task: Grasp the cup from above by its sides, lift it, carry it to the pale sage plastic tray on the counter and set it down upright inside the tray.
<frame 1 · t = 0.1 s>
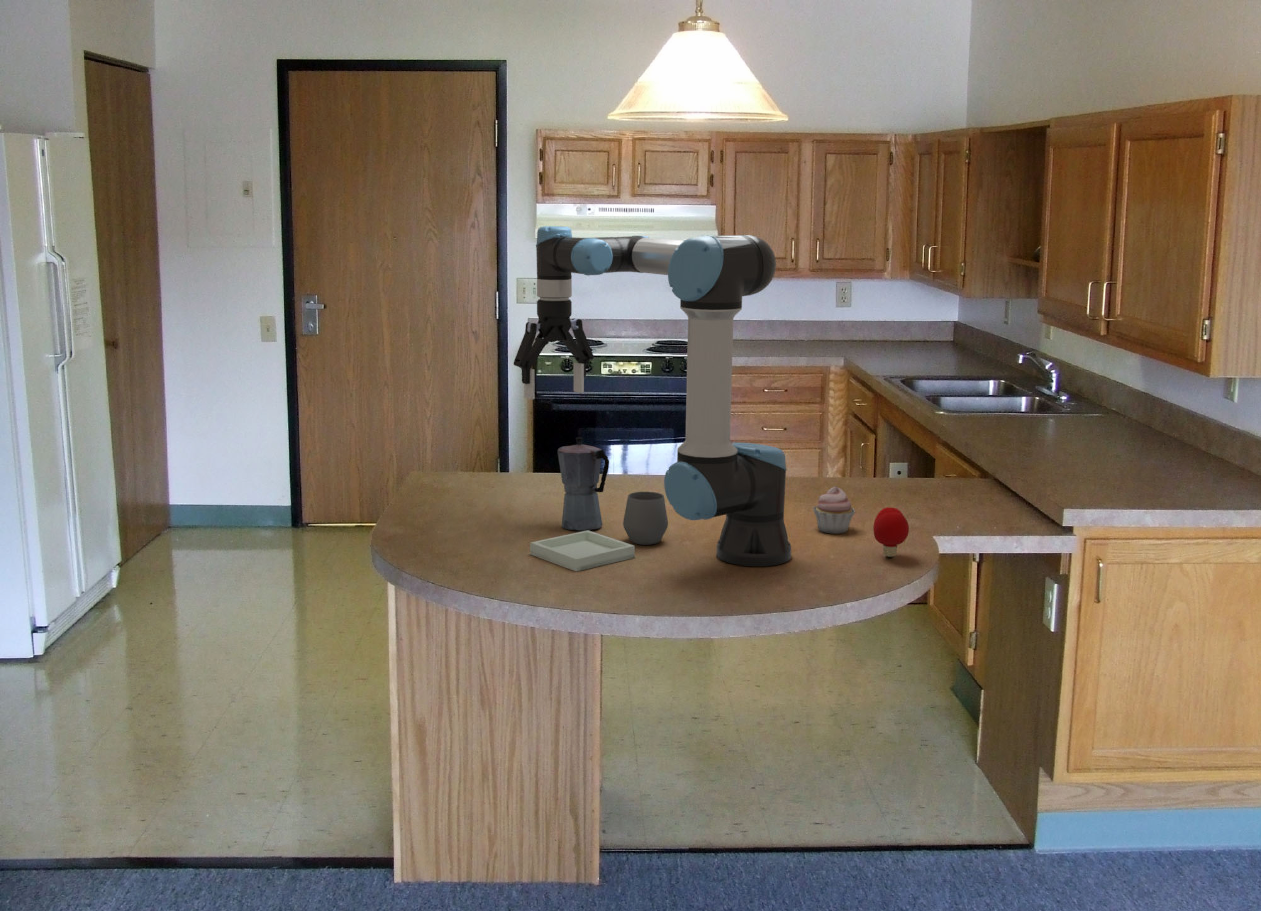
hand: (554, 395, 290), 28 cm above the breakfast bar, fingers open, 13 cm apart
light bulb: (889, 558, 268), on the breakfast bar
cupcake: (833, 531, 288), on the breakfast bar
tray: (582, 556, 267), on the breakfast bar
cup: (645, 542, 278), on the breakfast bar
moka pot: (583, 528, 288), on the breakfast bar
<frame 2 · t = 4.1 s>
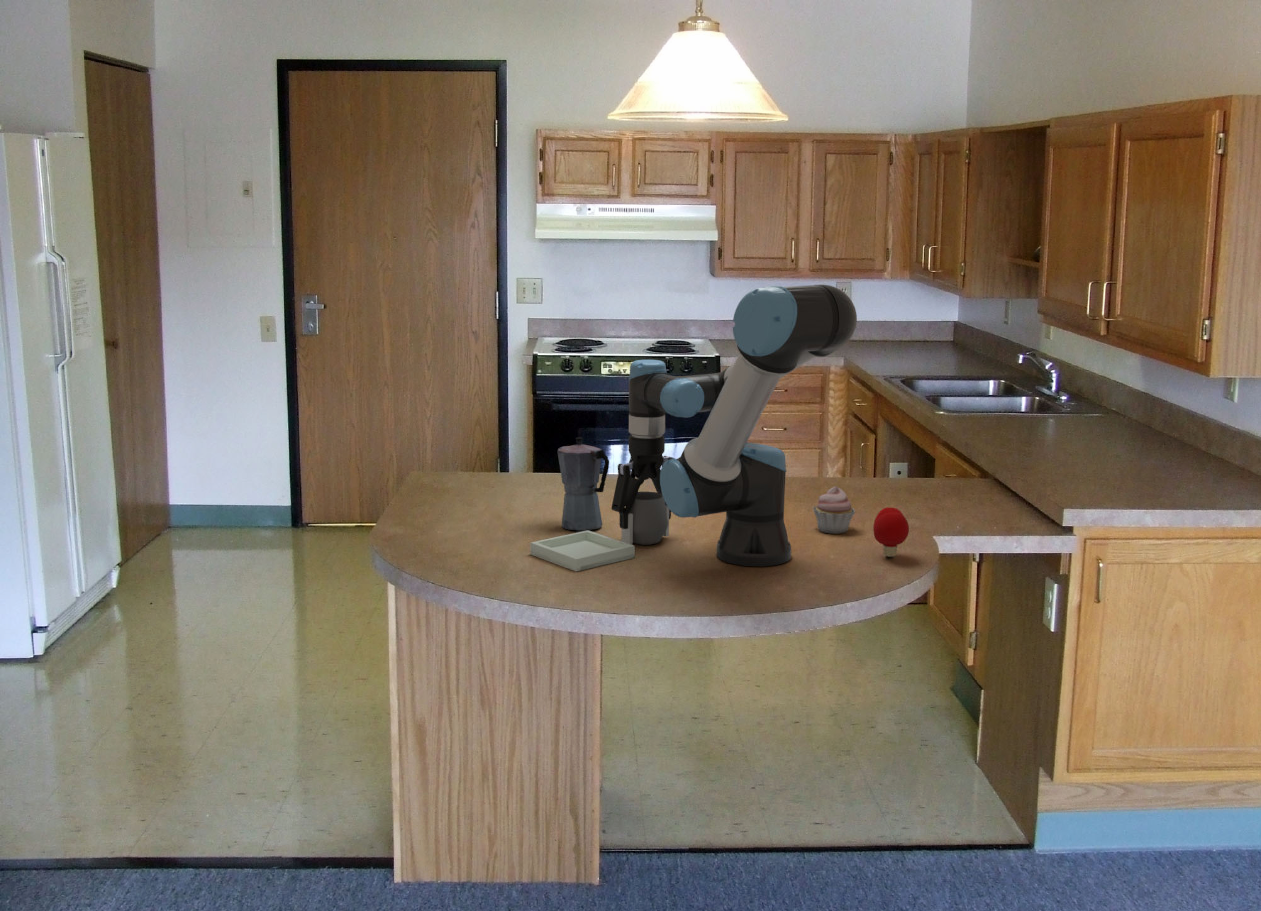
hand: (645, 538, 278), 1 cm above the breakfast bar, fingers closed on cup, 9 cm apart
cup: (645, 542, 278), on the breakfast bar, touching gripper
everything else where it was.
when the fingers open (3 cm above the breakfast bar, at t = 9.7 s): cup drops 2 cm, resting on tray.
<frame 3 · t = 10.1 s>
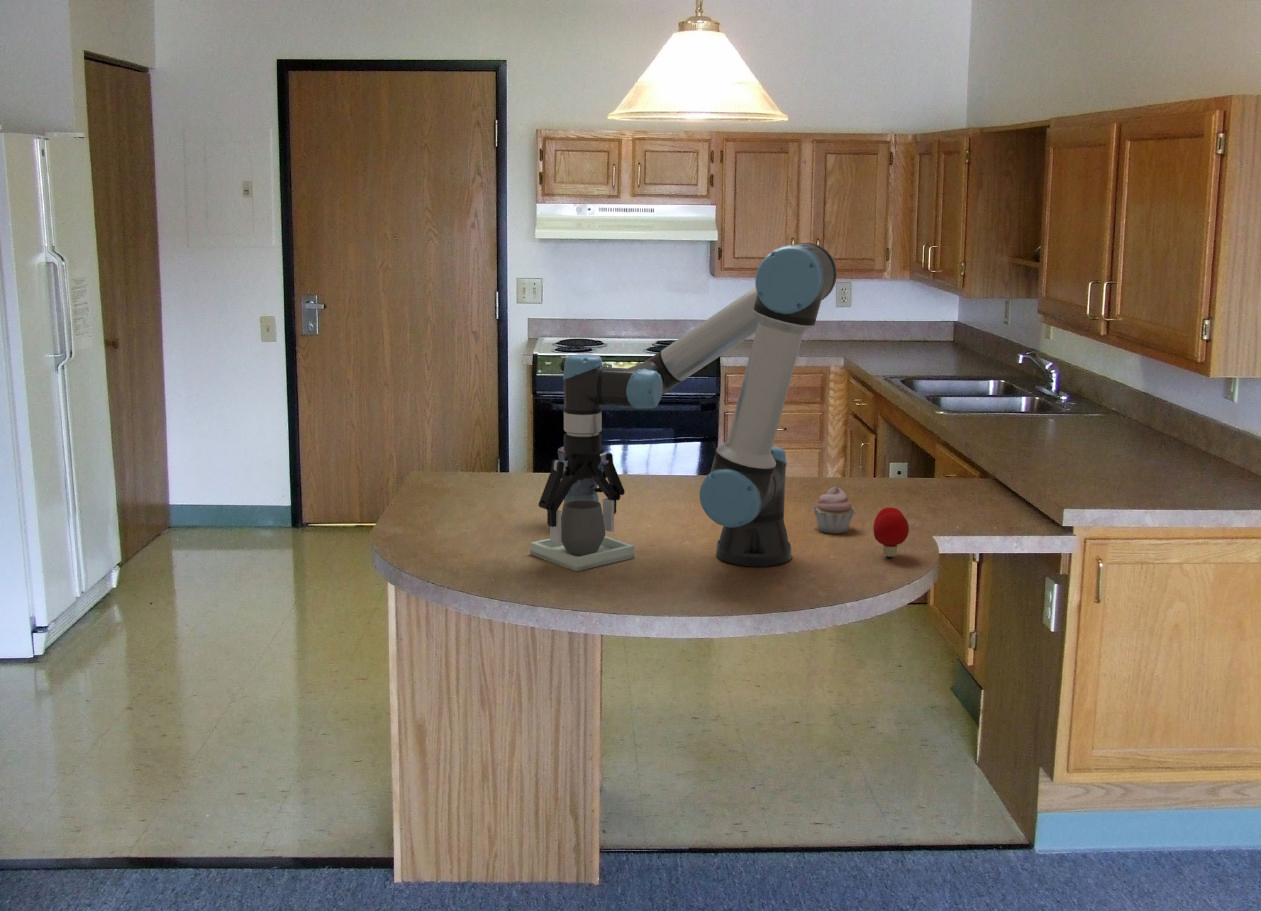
hand: (582, 536, 266), 4 cm above the breakfast bar, fingers open, 13 cm apart
cup: (581, 553, 267), point 1 cm above the breakfast bar, touching tray
everything else where it was.
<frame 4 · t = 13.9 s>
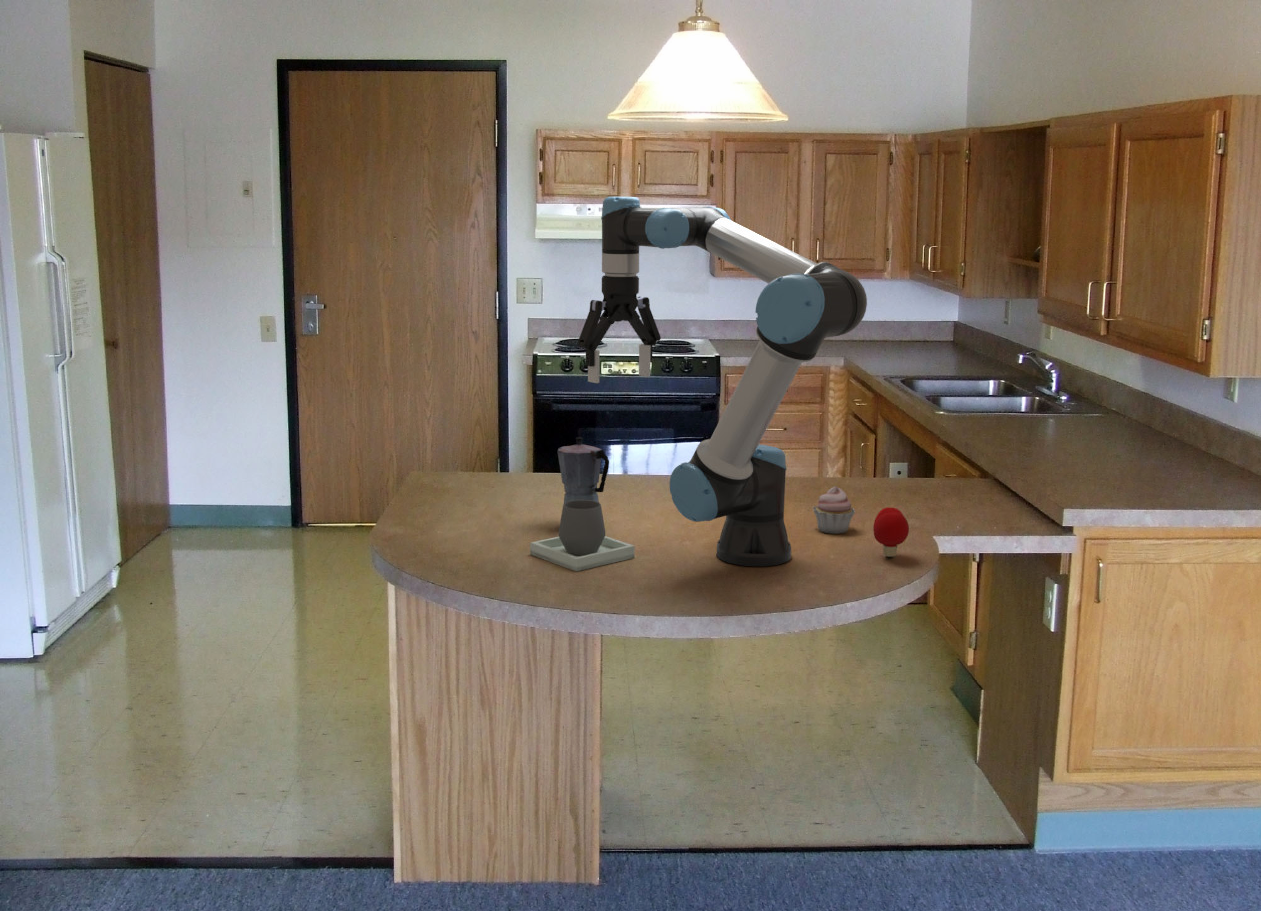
hand: (619, 379, 269), 35 cm above the breakfast bar, fingers open, 13 cm apart
nothing on the breakfast bar moved.
at the end: cup inside the target area on the tray (0.1 cm from its centre), point 0.6 cm above the tray's base; cup tilted 0°; the gripper is holding nothing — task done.
